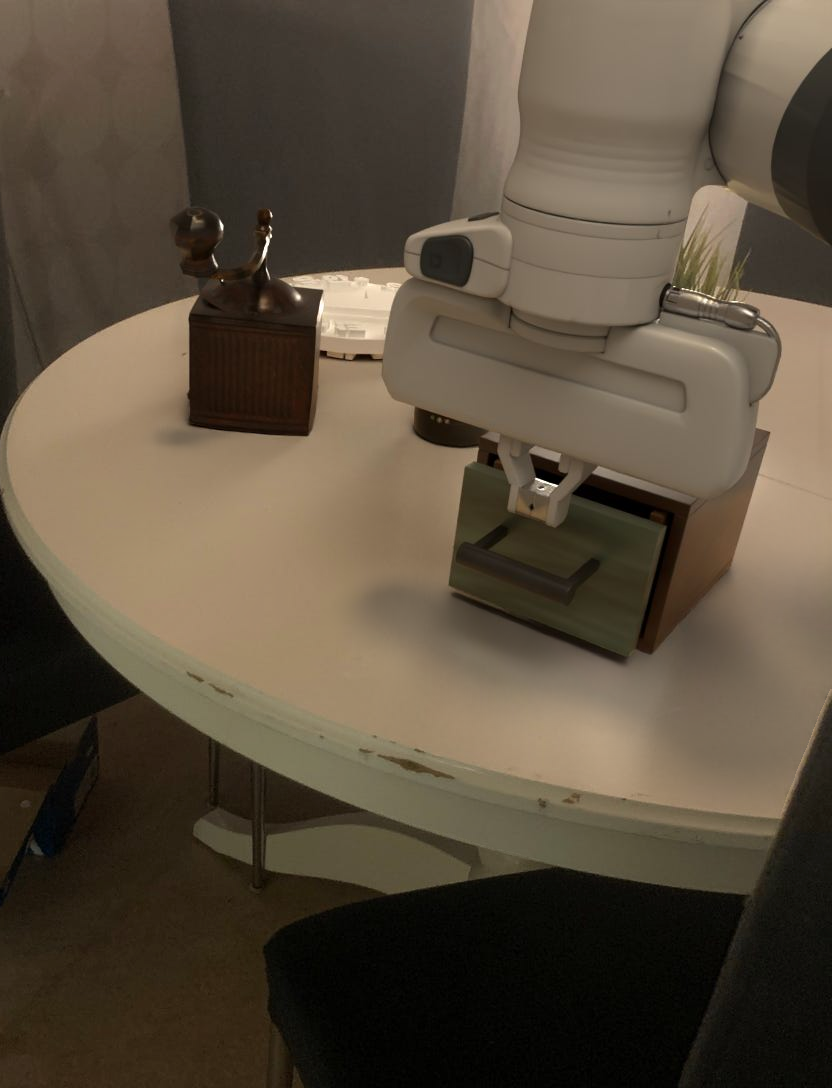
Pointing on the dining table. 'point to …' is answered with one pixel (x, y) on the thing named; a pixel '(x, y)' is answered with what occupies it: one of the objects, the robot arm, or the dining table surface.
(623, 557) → the drawer
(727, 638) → the dining table surface
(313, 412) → the coffee grinder
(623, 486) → the cabinet
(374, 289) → the white wall clock
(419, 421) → the supplement bottle
